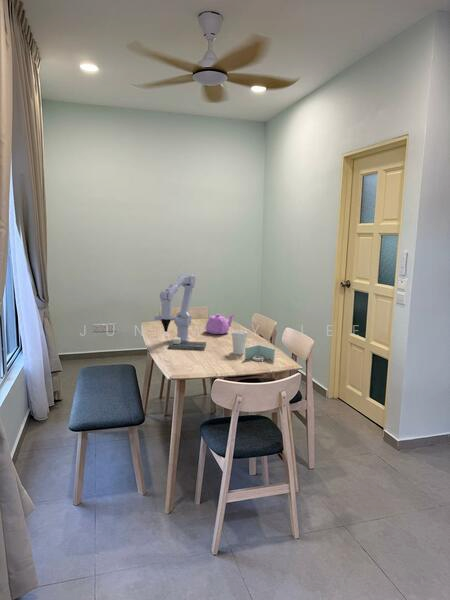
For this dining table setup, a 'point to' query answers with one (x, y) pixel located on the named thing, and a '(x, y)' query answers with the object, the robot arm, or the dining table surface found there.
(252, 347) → the l-shaped corner panel
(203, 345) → the fader panel
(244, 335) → the foam cup
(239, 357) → the dining table surface
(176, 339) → the fader
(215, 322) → the teapot
